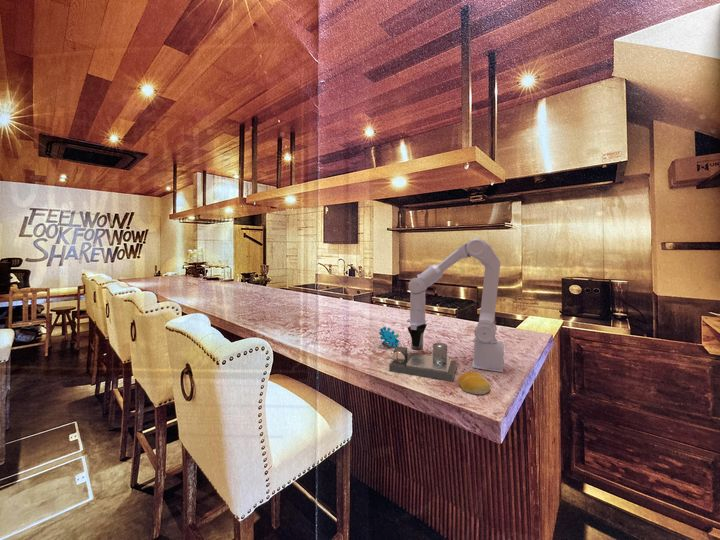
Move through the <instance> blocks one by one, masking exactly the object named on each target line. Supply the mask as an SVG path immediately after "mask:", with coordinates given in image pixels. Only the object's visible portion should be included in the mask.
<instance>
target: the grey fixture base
mask: <svg viewBox="0 0 720 540" xmlns="http://www.w3.org/2000/svg"><path fill="white" fill-rule="evenodd" d="M408 348H409V347H405V346H399V345H398V346H396V347H395V348H394V350H393V353H392V354H391V355H392V356H391V360H392V361H391V362H390V363H389V366H388V367H389V368H388V369H389V370H388V371H390V372H395V373H401V374H407V375H411V376H416V377H417V376H418V377H424V378H430V379H435V380H442V381H447V382H453V380H454V378H455V373H456V369H457V362H458V361H457V360H453V359H452V358H449V357H447V364H446V365H436V364H434V363H433V355H427V354H419V353H413V354H410V353H408Z"/></svg>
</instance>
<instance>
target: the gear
mask: <svg viewBox="0 0 720 540" xmlns="http://www.w3.org/2000/svg"><path fill="white" fill-rule="evenodd" d="M378 335H379V336H380V337H379V338H380V340H383V341H382V342H381V345H386V344H387V343H388V344H387V346H388V348H392V349H396V348H397V346H399V345H400V344H399V343H400V339H398V338H399V336H400V334H399V333H397V334H396V332H395V331H394V330H392V331H391V328H390V327H388V328H387V327H386V326H383V327H381V328H380V329H379V332H378Z"/></svg>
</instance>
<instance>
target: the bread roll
mask: <svg viewBox="0 0 720 540" xmlns="http://www.w3.org/2000/svg"><path fill="white" fill-rule="evenodd" d="M457 382H458V384H459V387H461V389H462V391H464V392H466V393H469V394H472V395H485V394H488V393H489V392H490V390H491V385H490V384H491V383H489V381H488V380H486V379H485V377H484V376H482V375H481V374H480V373H478V372H474V371H467V372H464V373H462V374H461V375H459V377H458V379H457Z"/></svg>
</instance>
